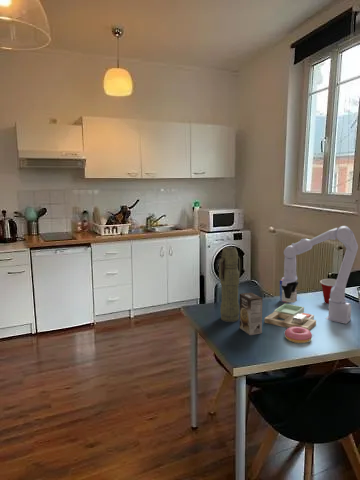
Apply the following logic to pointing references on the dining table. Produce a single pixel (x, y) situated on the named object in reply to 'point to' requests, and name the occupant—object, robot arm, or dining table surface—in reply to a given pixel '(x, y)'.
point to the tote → (290, 309)
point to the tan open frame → (287, 321)
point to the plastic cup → (327, 288)
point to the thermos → (229, 284)
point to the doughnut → (298, 334)
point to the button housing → (310, 317)
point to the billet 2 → (299, 319)
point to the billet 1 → (292, 297)
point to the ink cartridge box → (281, 291)
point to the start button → (307, 314)
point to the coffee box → (251, 313)
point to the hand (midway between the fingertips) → (289, 296)
